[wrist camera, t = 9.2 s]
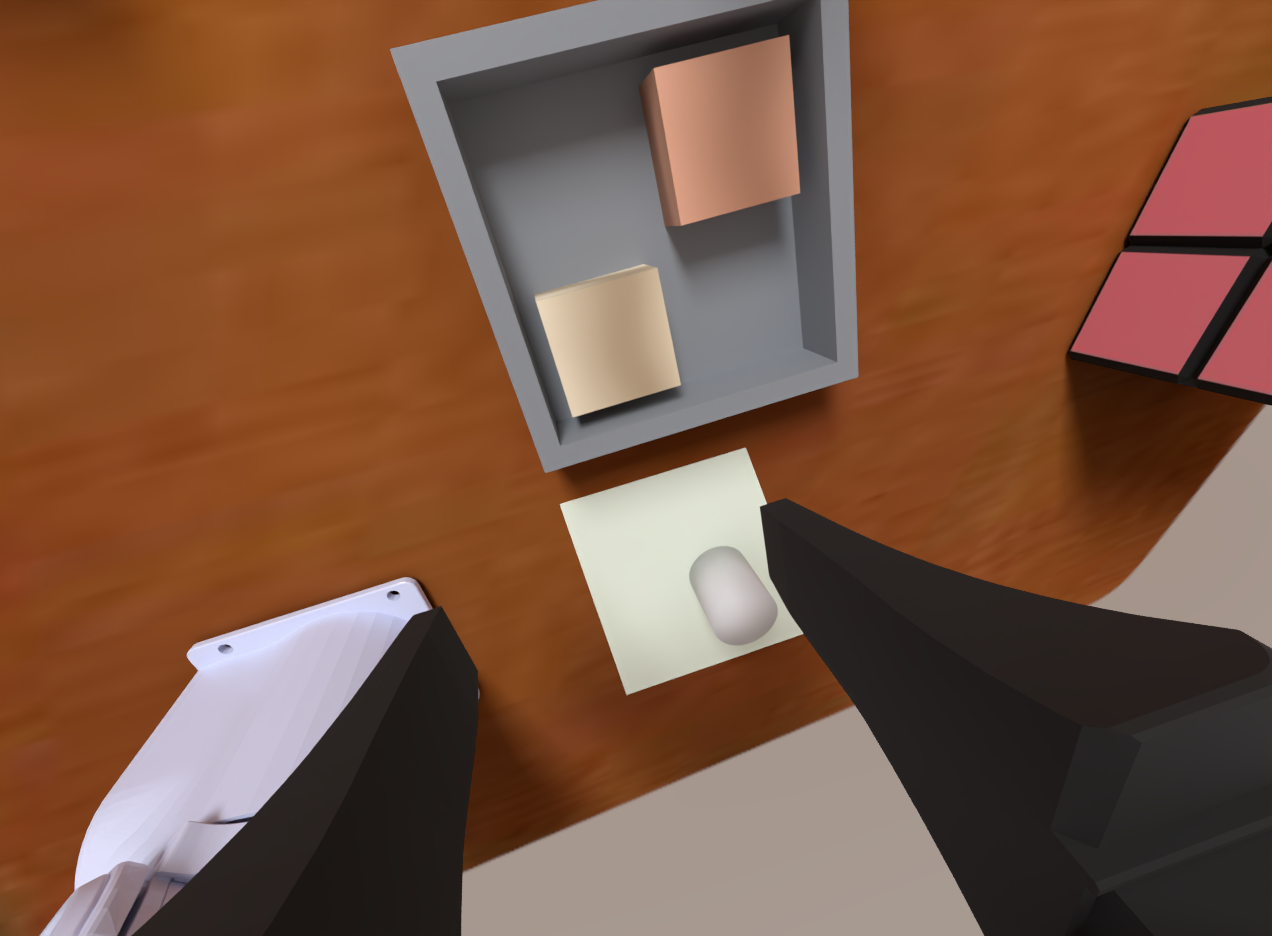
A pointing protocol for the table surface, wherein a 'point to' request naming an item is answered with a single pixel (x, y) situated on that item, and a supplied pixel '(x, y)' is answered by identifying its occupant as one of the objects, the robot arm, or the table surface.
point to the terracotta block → (722, 131)
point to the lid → (680, 569)
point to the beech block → (610, 338)
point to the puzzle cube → (1197, 265)
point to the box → (642, 205)
